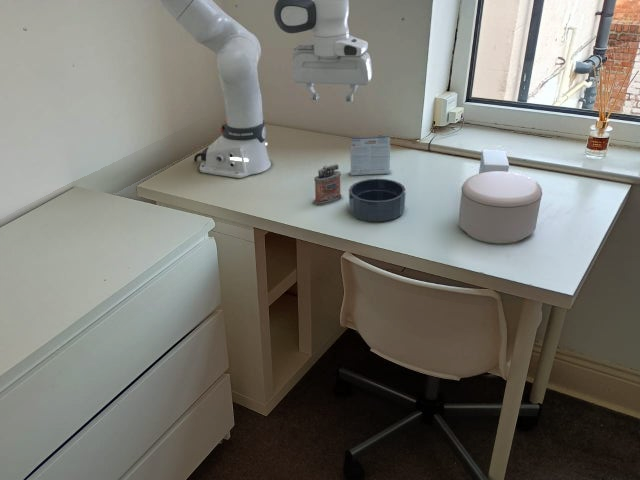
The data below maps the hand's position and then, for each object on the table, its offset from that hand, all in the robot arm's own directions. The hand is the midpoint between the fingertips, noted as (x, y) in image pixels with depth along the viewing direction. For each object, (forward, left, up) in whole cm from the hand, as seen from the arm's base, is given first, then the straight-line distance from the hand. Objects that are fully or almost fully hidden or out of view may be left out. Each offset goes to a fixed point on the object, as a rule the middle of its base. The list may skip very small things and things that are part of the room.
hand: (332, 100), depth 174 cm
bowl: (+14, -9, -26) cm, 31 cm away
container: (+44, -14, -27) cm, 53 cm away
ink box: (+8, +15, -27) cm, 32 cm away
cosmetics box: (+42, +6, -27) cm, 50 cm away
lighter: (0, -5, -27) cm, 27 cm away
